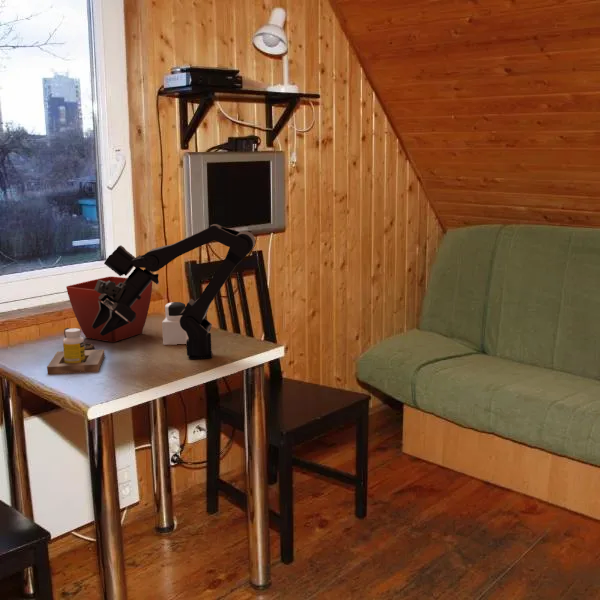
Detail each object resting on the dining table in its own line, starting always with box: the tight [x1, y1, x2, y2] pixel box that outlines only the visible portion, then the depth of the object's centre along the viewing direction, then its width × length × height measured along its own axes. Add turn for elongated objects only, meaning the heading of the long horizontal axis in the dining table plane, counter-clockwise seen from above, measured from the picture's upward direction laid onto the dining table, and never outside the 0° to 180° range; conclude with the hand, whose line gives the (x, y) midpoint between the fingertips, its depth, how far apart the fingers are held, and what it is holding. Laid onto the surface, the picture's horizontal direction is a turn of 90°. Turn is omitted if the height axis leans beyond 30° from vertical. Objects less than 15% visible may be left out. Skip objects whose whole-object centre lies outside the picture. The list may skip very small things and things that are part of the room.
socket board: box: [46, 348, 106, 375], centre depth 212 cm, size 13×15×2 cm
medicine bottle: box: [161, 301, 188, 346], centre depth 233 cm, size 7×7×12 cm
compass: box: [63, 327, 95, 350], centre depth 227 cm, size 8×8×7 cm
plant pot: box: [66, 276, 153, 343], centre depth 240 cm, size 19×19×17 cm
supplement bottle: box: [62, 327, 85, 363], centre depth 209 cm, size 5×5×10 cm
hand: (97, 331), depth 211 cm, fingers open, 9 cm apart
